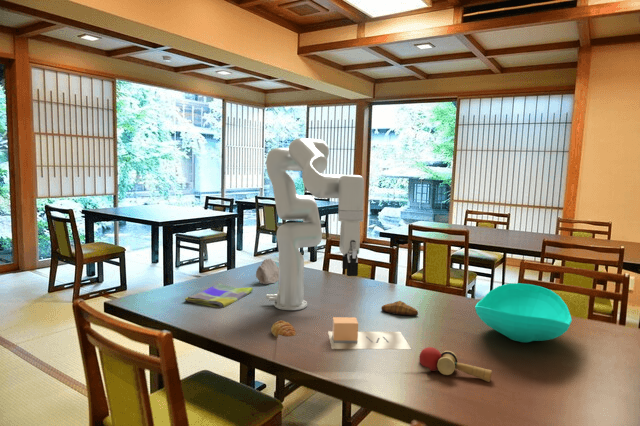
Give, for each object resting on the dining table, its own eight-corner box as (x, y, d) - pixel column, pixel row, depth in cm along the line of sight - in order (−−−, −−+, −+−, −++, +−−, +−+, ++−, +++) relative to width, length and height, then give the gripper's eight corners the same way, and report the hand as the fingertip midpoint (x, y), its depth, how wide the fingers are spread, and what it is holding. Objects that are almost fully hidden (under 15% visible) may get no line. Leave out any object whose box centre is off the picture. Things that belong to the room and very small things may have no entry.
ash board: (331, 353, 123) (331, 348, 122) (327, 335, 136) (328, 331, 135) (411, 354, 124) (411, 348, 124) (400, 336, 137) (400, 331, 137)
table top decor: (566, 373, 115) (571, 325, 113) (460, 348, 129) (463, 305, 128) (571, 328, 148) (574, 290, 147) (486, 312, 163) (489, 278, 161)
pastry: (301, 339, 133) (301, 327, 132) (282, 344, 129) (282, 331, 129) (287, 329, 141) (287, 318, 140) (268, 333, 137) (268, 321, 137)
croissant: (379, 314, 158) (379, 300, 157) (383, 308, 164) (383, 295, 164) (416, 319, 153) (417, 305, 153) (419, 313, 160) (419, 300, 159)
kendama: (488, 378, 114) (420, 356, 120) (493, 358, 112) (424, 337, 118) (487, 396, 107) (415, 372, 114) (492, 375, 105) (419, 352, 112)
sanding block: (333, 343, 127) (334, 323, 126) (332, 336, 131) (332, 317, 131) (357, 343, 127) (358, 323, 126) (355, 336, 132) (355, 317, 131)
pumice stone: (265, 286, 190) (265, 264, 189) (252, 283, 194) (252, 261, 193) (286, 279, 202) (286, 258, 201) (273, 276, 206) (274, 256, 205)
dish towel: (255, 293, 180) (255, 286, 180) (221, 310, 158) (221, 303, 158) (219, 287, 187) (219, 281, 187) (182, 303, 164) (182, 296, 164)
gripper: (335, 213, 138) (334, 266, 139) (342, 218, 121) (341, 278, 122) (358, 213, 139) (357, 266, 140) (368, 218, 121) (367, 278, 123)
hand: (349, 272), depth 131 cm, fingers open, 9 cm apart
